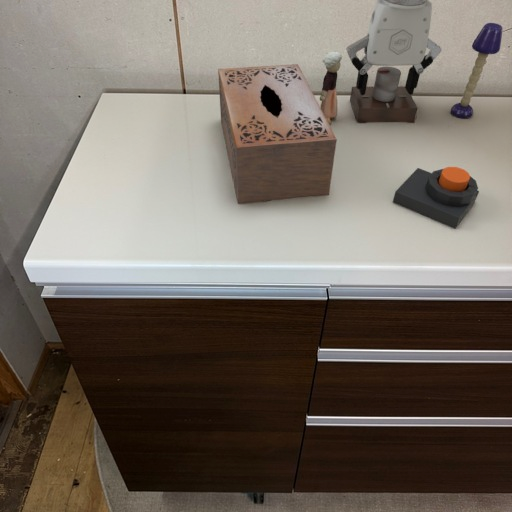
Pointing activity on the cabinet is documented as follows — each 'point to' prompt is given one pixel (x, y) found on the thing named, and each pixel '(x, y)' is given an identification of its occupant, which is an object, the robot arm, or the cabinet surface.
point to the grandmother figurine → (330, 86)
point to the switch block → (435, 197)
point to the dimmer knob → (386, 84)
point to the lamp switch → (454, 179)
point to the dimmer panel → (383, 107)
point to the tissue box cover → (274, 134)
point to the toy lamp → (478, 65)
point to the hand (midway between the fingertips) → (385, 91)
